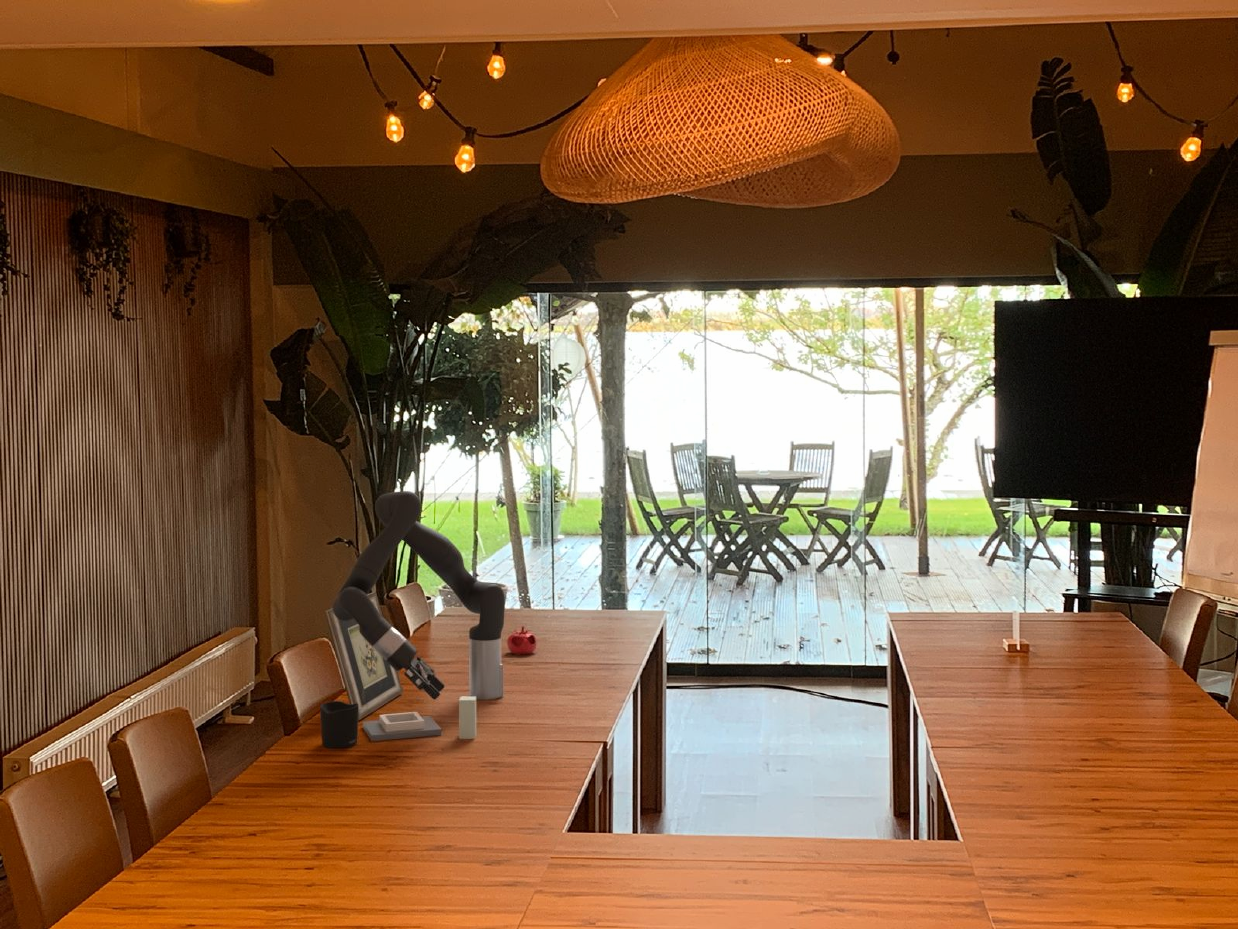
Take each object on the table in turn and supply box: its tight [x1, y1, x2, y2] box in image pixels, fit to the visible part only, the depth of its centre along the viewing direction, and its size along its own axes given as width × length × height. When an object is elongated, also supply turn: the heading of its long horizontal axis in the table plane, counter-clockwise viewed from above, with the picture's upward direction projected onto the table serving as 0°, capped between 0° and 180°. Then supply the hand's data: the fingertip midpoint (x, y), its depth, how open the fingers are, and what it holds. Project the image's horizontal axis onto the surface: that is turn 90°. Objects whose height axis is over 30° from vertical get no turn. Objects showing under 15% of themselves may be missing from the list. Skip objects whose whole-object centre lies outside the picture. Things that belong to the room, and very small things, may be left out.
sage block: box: [458, 695, 477, 740], centre depth 325 cm, size 4×4×10 cm
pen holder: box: [319, 700, 359, 750], centre depth 317 cm, size 9×9×10 cm
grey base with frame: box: [362, 711, 443, 742], centre depth 330 cm, size 18×14×4 cm
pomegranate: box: [506, 625, 537, 656], centre depth 429 cm, size 10×10×9 cm
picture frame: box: [324, 591, 404, 722], centre depth 355 cm, size 33×10×30 cm, turn 168°
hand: (440, 693), depth 325 cm, fingers open, 8 cm apart
